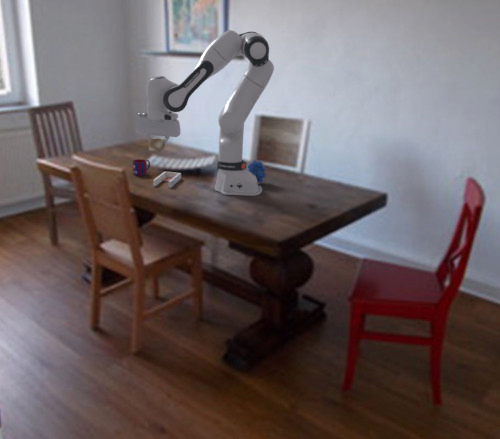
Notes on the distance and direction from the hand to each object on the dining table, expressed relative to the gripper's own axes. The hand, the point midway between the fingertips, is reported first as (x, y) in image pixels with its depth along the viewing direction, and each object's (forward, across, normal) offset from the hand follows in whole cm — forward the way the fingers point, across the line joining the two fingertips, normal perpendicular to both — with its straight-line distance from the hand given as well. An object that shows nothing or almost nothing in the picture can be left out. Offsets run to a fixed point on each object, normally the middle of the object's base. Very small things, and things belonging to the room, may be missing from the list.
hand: (158, 145), depth 249 cm
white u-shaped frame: (+21, 0, +12) cm, 25 cm away
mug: (+21, -17, +24) cm, 36 cm away
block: (+2, 0, -1) cm, 2 cm away
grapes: (+21, +42, +24) cm, 53 cm away
